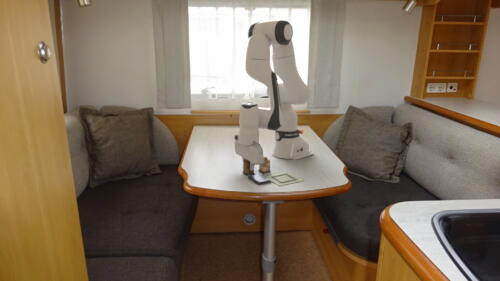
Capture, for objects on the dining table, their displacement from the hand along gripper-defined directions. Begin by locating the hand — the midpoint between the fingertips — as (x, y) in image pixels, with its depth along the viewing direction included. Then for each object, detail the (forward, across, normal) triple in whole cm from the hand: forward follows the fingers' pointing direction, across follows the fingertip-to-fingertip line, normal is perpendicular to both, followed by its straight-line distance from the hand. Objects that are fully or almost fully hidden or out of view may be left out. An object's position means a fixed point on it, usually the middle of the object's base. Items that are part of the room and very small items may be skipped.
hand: (248, 168), depth 167 cm
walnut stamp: (+3, 0, 0) cm, 3 cm away
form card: (+3, -13, -10) cm, 17 cm away
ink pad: (+3, -10, 0) cm, 10 cm away
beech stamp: (+3, -1, -8) cm, 9 cm away
